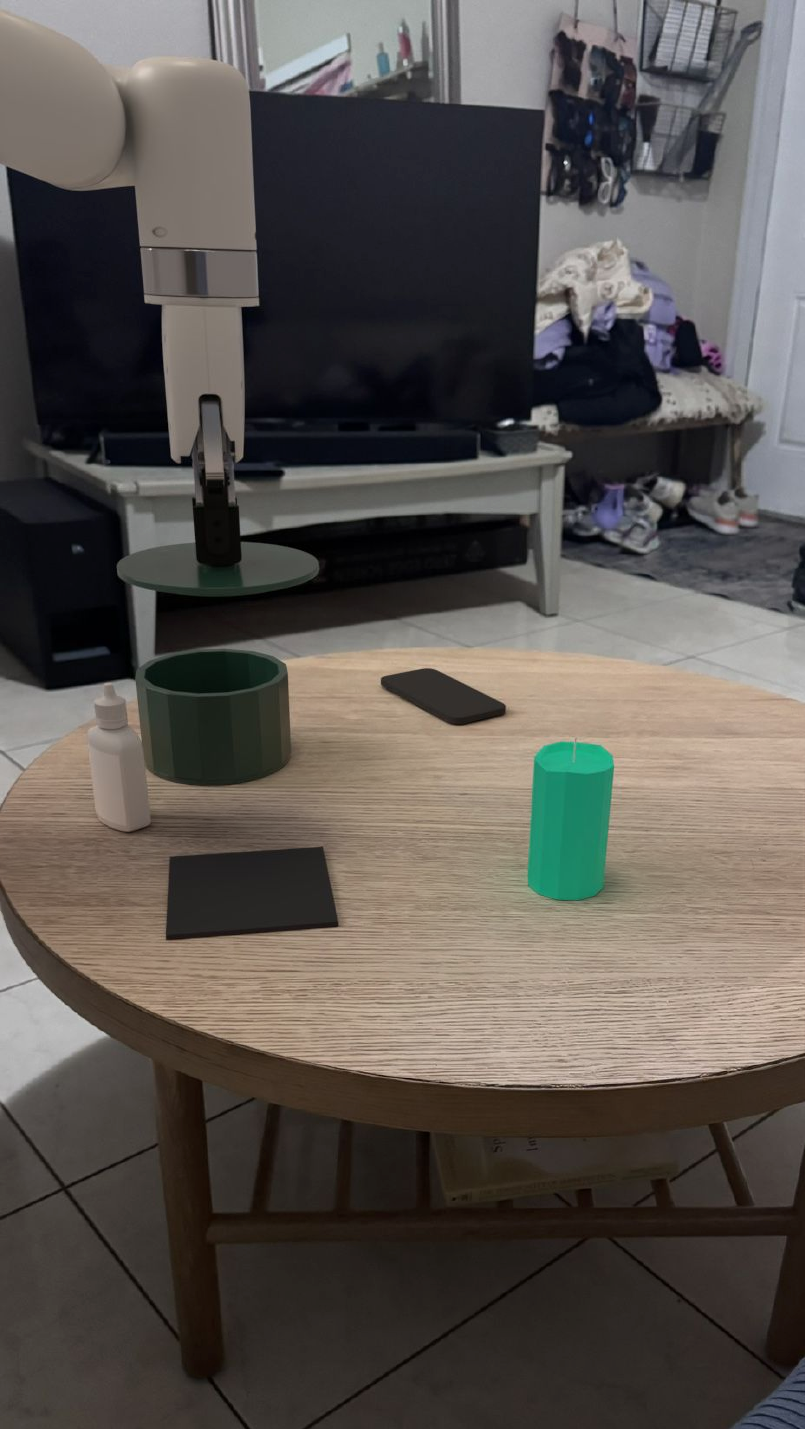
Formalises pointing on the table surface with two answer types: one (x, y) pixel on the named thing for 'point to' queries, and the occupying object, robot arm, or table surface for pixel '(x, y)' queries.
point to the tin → (214, 716)
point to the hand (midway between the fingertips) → (218, 555)
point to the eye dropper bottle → (117, 766)
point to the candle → (569, 820)
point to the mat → (249, 893)
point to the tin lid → (217, 570)
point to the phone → (443, 695)
